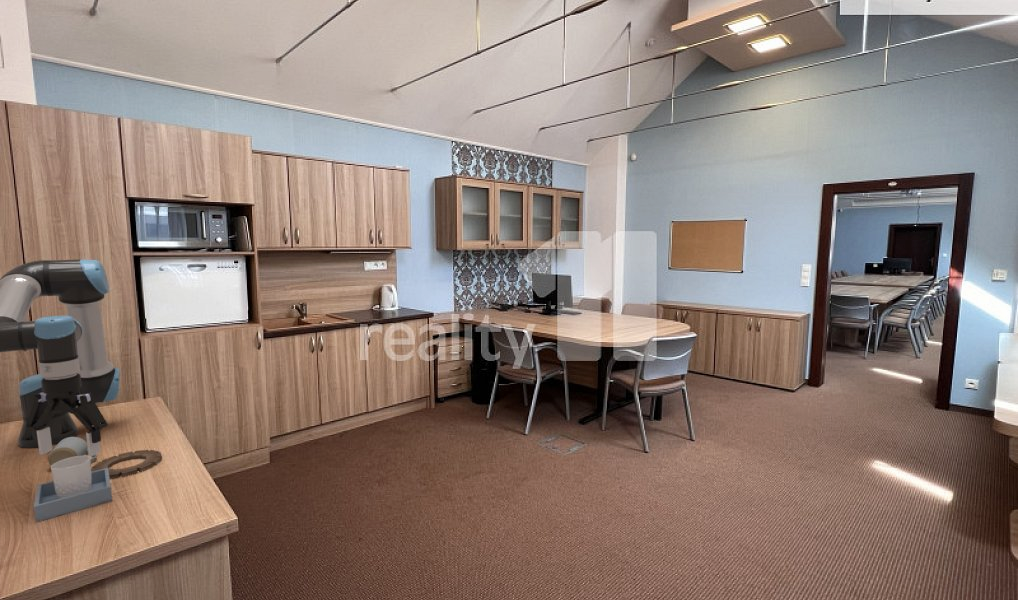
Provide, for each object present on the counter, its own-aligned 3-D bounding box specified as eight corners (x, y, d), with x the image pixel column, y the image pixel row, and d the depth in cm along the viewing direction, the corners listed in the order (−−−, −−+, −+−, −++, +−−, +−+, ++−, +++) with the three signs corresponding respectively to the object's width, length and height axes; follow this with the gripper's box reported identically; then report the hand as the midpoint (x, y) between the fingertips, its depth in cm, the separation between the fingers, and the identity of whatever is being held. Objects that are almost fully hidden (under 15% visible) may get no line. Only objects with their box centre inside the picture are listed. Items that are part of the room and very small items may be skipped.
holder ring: (90, 464, 149) (90, 460, 149) (158, 448, 160) (157, 445, 160) (92, 485, 136) (91, 481, 136) (164, 466, 148) (164, 462, 148)
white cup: (47, 502, 126) (43, 466, 125) (81, 488, 133) (77, 453, 132) (68, 507, 124) (64, 470, 123) (101, 492, 131) (98, 457, 130)
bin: (39, 498, 129) (37, 484, 129) (109, 480, 139) (108, 467, 138) (35, 522, 118) (33, 506, 118) (112, 500, 128) (110, 486, 127)
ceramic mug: (47, 472, 144) (44, 448, 143) (58, 461, 151) (56, 438, 150) (92, 466, 148) (90, 442, 147) (100, 455, 156) (99, 433, 155)
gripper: (-1, 378, 121) (10, 457, 124) (93, 381, 120) (102, 461, 123) (30, 370, 129) (40, 445, 132) (119, 372, 127) (127, 448, 130)
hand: (70, 453), depth 127 cm, fingers open, 13 cm apart
